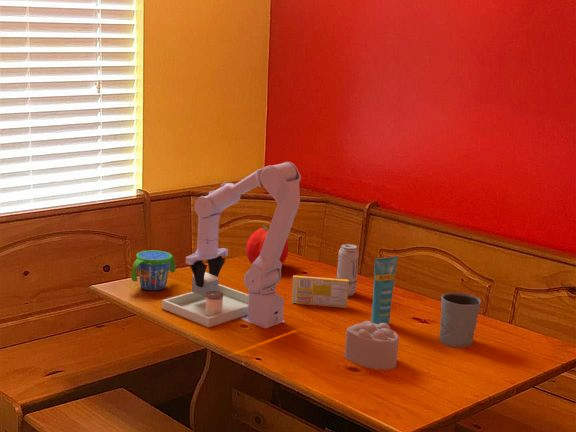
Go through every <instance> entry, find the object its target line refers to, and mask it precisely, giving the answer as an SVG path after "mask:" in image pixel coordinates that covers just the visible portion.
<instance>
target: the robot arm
mask: <svg viewBox="0 0 576 432" xmlns="http://www.w3.org/2000/svg"><path fill="white" fill-rule="evenodd" d="M301 178H302V176H301V173H300V171H299V169H298V167H297V166H296V165H295V163H293V162H291V161H284V162H282V163H278V164H274V165H267V166H264V167H263V168H260V169H259V168H258V169H257V170H256V171H253V172H252V173H251V174H249V175H247V176H245V177H244V178H242V179H241V180H240V181H238V182H236V183H232V182H223V183H221V184H220V185H219V186H220V187H219V188H218V189H216V190H215V189H214V190H210V191H209V192H208V194H207V195H205V196H204V195H201V196H199V197H198V198H197V199H196V200H195V201H194V206H193V208H194V211H195V213H196V215H197V217H198V218H197V243H196V244H197V247H196V248H197V249H196V250H195V252H194V253H192V254H190V255H187V256H185V264H186V265H189V267H190V269H191V271H192V275H194V278H195V282H196V286H199V287H203V284H204V275H205V272H206V271H207V270H206V269H208V273H209V274H212V275H215V276H217V277H219V274H220V271H221V270H222V268H223V266H224V264H225V263H226V259H225V258H224V257H228V256H229V249H228V248H224V247H221V248H219V231H220V228H219V227H220V226H219V225H220V223H219V222H220V219H221V214H222V213H223V211H224V210H226V209H227V208H230V207H231V206H234V205H235V204H237V203H238V202H240V200H241V195H244V194H246V193H248V192H250V191H251V190H254V189H256V188H257V187H259V188H261V187H262V188H264V189H265V190H266V191H267V193H268V194H269V195H270V196H271V197H272V199H274V200H275V202H276V207H275V211H274V213H273V216H272V219H271V221H270V224H269V226H268V227H269V230H268V233H267V235H266V238H265V241H264V244H263V247H262V250H261V252H260V255H259V257H258V258H257V259H256V260H255V261H254V262H253V263H252V264H250V265H251V266H250V268H249V269H248V270H246V271H245V273H244V275H243V282H244V286H245V288H246V289H247V292H248V315H245V316H242V317H240V320H243V321H245V322H246V323H247V322H248V323H250V324H253V325H256V326H259V327H260V328H263V329H268V328H270V327H273V326H276V325H279V324H282V323H284V322H285V320H284V307H285V303H284V298H283V297H282V296H281V295H280V294H278V293H277V291H276V289H277V284H278V283H280V281H281V279H282V267H283V263H281V262H280V260H279V259H280V256H281V254H282V251H283V248H284V246H285V243H286V240H287V241H288V237H289V235H290V232H291V229H292V226H293V223H294V220H295V218H296V214H297V212H298V209H299V207H300V203H301V196H300V195H301V194H300V191H301V190H300V182H301ZM204 261H207V264H205V263H204Z"/></svg>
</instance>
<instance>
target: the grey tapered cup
mask: <svg viewBox="0 0 576 432" xmlns="http://www.w3.org/2000/svg"><path fill="white" fill-rule="evenodd" d="M440 303H441V305H440V306H441V307H440V313H441V316H440V327H439V328H440V329H439V342H440V343H442V344H443V343H444V345H445V344H446V345H445V346H448V345H449V346H448V347H451V346H453V347H452V348H458V347H463V348H469V347H471V346H472V345H473V340H474V335H475V331H476V326H477V321H478V318H479V313H480V309H481V304H482V300H481V299H480V298H479V297H477V296H475V295H471V294H469V293H462V292H447V293H444V294H442V295H441V301H440ZM468 346H469V347H468ZM463 348H462V349H463Z"/></svg>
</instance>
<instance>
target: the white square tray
mask: <svg viewBox="0 0 576 432" xmlns="http://www.w3.org/2000/svg"><path fill="white" fill-rule="evenodd" d="M218 291H219V292H222V293H223V305H222V313H221V314H218V315H214V316H211V317H207V316H205V312H206V297H204V296H201V295H199V294H196V293H193V292H192V291H190V292H186V293H183V294H180V295H176V296H172V297H168V298H166V299H162V300H161V309H162V310H164V311H166V312H169V313H172V314H174V315H177V316H179V317H182V318H184V319H187V320H189V321H192V322H193V323H196V324H199V325H201V326H204V327H206V328H212V327H214V326H218V325H221V324H224V323H227V322H230V321H233V320H236V319H238V318H239V319H240V318H243V317H246V316H247V315H248V295H249V293H245V292H242V291H240V290H237V289H233V288H232V287H228V286H225V285H223V284H219V285H218Z"/></svg>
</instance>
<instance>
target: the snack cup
mask: <svg viewBox="0 0 576 432" xmlns="http://www.w3.org/2000/svg"><path fill="white" fill-rule="evenodd" d="M135 259H136V260H134V262H133V264H132V267H131V273H130V278H131V280H132V281H133V282H138V279H139V283H140V287H141V289H143V290H147V291H156V292H157V291H161V290H163V289H166V286H167V283H168V277H169V272H170V273H175V272H176V268H177V266H176V260H175V258H174V255H173V254H171V253H170V252H167V251H163V250H156V249H155V250H154V249H153V250H152V249H151V250H150V249H149V250H142V251H139V252H137V253H136V254H135ZM138 277H139V278H138Z"/></svg>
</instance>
